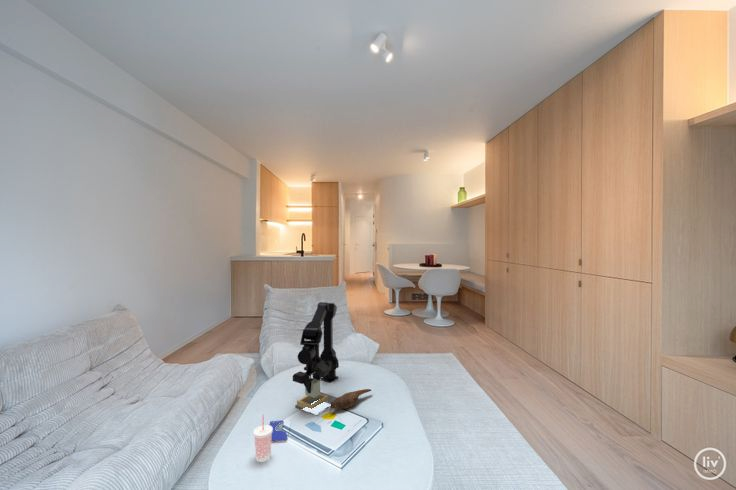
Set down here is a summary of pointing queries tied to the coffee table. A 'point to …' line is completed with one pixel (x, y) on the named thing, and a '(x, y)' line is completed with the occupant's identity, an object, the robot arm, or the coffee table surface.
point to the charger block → (314, 388)
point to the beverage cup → (263, 441)
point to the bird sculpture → (347, 399)
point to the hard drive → (277, 433)
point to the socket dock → (308, 400)
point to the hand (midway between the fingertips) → (312, 391)
